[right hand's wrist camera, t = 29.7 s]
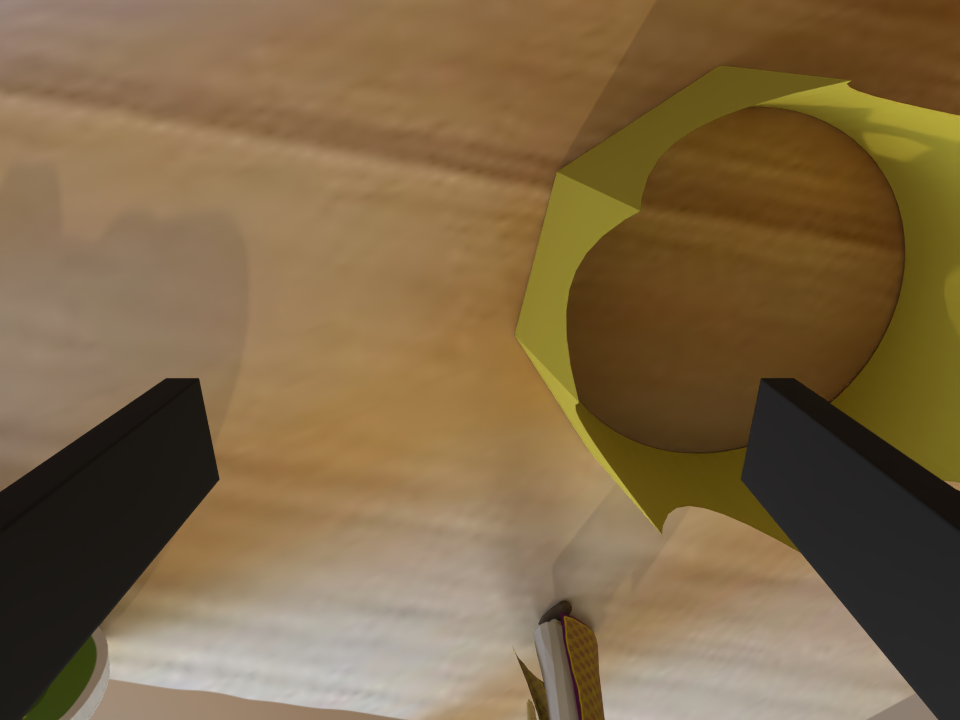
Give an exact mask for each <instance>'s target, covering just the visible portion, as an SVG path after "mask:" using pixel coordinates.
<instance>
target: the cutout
mask: <svg viewBox="0 0 960 720" xmlns="http://www.w3.org/2000/svg"><path fill="white" fill-rule="evenodd" d="M109 665H110V664H109V653H108V644H107V640H106V636H105V635H104V633H103V631H102V630H101V629H100V627H99V626H98V628H97V629H96V630H95V631H94V632H93V634H92V635H91V636H90V637H89V639H88V640H87V641H86V642H85V643H84V645H83V646H82V647H81V648H80V649H79V651H78V652H77V653H76V654H75V656H74V657H73V658H72V659H71V660H70V662H69V663H68V664H67V665H66V666H65V668H64V669H63V670H62V671H61V673H60V674H59V675H58V676H57V677H56V679H55V680H54V681H53V682H52V683H51V685H50V686H49V687H48V688H47V690H46V691H45V692H44V693H43V694H42V696H41V697H40V698H39V699H38V701H37V702H36V703H35V704H34V705H33V707H32V708H31V709H30V710H29V711H28V713H27V714H26V715H25V716H24V718H23V719H22V720H90V718H91V717H92V715H93V714H94V712H95V710H96V709H97V707H98V705H99V703H100V701H101V700H102V698H103V696H104V693H105V690H106V688H107V684H108V680H109V674H110V669H109Z"/></svg>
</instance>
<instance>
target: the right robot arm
mask: <svg viewBox="0 0 960 720" xmlns="http://www.w3.org/2000/svg"><path fill="white" fill-rule="evenodd" d="M218 481H219V475H218V470H217V465H216V460H215V455H214V450H213V445H212V440H211V435H210V430H209V425H208V420H207V416H206V411H205V406H204V401H203V396H202V391H201V386H200V381H199V378H166V379H164V380H163V381H161V382H160V383H159V384H157V385H156V386H154V387H153V388H151V389H150V390H148V391H147V392H145V393H144V394H143V395H141V396H140V397H138V398H137V399H135V400H134V401H132V402H131V403H129V404H128V405H126V406H125V407H124V408H122V409H121V410H119V411H118V412H116V413H115V414H113V415H112V416H110V417H109V418H108V419H106V420H105V421H103V422H102V423H100V424H99V425H97V426H96V427H94V428H93V429H92V430H90V431H89V432H87V433H86V434H84V435H83V436H81V437H80V438H78V439H77V440H75V441H74V442H73V443H71V444H70V445H68V446H67V447H65V448H64V449H62V450H61V451H59V452H58V453H57V454H55V455H54V456H52V457H51V458H49V459H48V460H46V461H45V462H43V463H42V464H40V465H39V466H38V467H36V468H35V469H33V470H32V471H30V472H29V473H27V474H26V475H24V476H23V477H22V478H20V479H19V480H17V481H16V482H14V483H13V484H11V485H10V486H8V487H7V488H5V489H4V490H3V491H1V492H0V720H22V719H23V718H24V716H25V715H26V714H27V713H28V711H29V710H30V709H31V708H32V707H33V705H34V704H35V703H36V702H37V701H38V699H39V698H40V697H41V696H42V694H43V693H44V692H45V691H46V690H47V688H48V687H49V686H50V685H51V683H52V682H53V681H54V680H55V679H56V677H57V676H58V675H59V674H60V673H61V671H62V670H63V669H64V668H65V666H66V665H67V664H68V663H69V662H70V660H71V659H72V658H73V657H74V656H75V654H76V653H77V652H78V651H79V649H80V648H81V647H82V646H83V645H84V643H85V642H86V641H87V640H88V639H89V637H90V636H91V635H92V634H93V632H94V631H95V630H96V629H97V628H98V626H99V625H100V624H101V623H102V622H103V620H104V619H105V618H106V617H107V615H108V614H109V613H110V612H111V611H112V609H113V608H114V607H115V606H116V605H117V603H118V602H119V601H120V600H121V598H122V597H123V596H124V595H125V594H126V592H127V591H128V590H129V589H130V588H131V586H132V585H133V584H134V583H135V581H136V580H137V579H138V578H139V577H140V575H141V574H142V573H143V572H144V571H145V569H146V568H147V567H148V566H149V564H150V563H151V562H152V561H153V560H154V558H155V557H156V556H157V555H158V554H159V552H160V551H161V550H162V549H163V547H164V546H165V545H166V544H167V543H168V541H169V540H170V539H171V538H172V537H173V535H174V534H175V533H176V532H177V530H178V529H179V528H180V527H181V526H182V524H183V523H184V522H185V521H186V520H187V518H188V517H189V516H190V515H191V513H192V512H193V511H194V510H195V509H196V507H197V506H198V505H199V504H200V503H201V501H202V500H203V499H204V498H205V496H206V495H207V494H208V493H209V492H210V490H211V489H212V488H213V487H214V485H215V484H216V483H217V482H218ZM741 481H742V482H743V483H744V484H745V486H746V487H747V488H748V489H749V490H750V492H751V493H752V494H753V495H754V496H755V498H756V499H757V500H758V501H759V503H760V504H761V505H762V506H763V507H764V509H765V510H766V511H767V512H768V513H769V515H770V516H771V517H772V518H773V520H774V521H775V522H776V523H777V524H778V526H779V527H780V528H781V529H782V530H783V532H784V533H785V534H786V535H787V537H788V538H789V539H790V540H791V541H792V543H793V544H794V545H795V546H796V547H797V549H798V550H799V551H800V552H801V554H802V555H803V556H804V557H805V558H806V560H807V561H808V562H809V563H810V564H811V566H812V567H813V568H814V569H815V571H816V572H817V573H818V574H819V575H820V577H821V578H822V579H823V580H824V581H825V583H826V584H827V585H828V586H829V588H830V589H831V590H832V591H833V592H834V594H835V595H836V596H837V597H838V598H839V600H840V601H841V602H842V603H843V605H844V606H845V607H846V608H847V609H848V611H849V612H850V613H851V614H852V615H853V617H854V618H855V619H856V620H857V622H858V623H859V624H860V625H861V626H862V628H863V629H864V630H865V631H866V632H867V634H868V635H869V636H870V637H871V639H872V640H873V641H874V642H875V643H876V645H877V646H878V647H879V648H880V649H881V651H882V652H883V653H884V654H885V656H886V657H887V658H888V659H889V660H890V662H891V663H892V664H893V665H894V666H895V668H896V669H897V670H898V671H899V673H900V674H901V675H902V676H903V677H904V679H905V680H906V681H907V682H908V684H909V685H910V686H911V687H912V688H913V690H914V691H915V692H916V693H917V694H918V696H919V697H920V698H921V699H922V701H923V702H924V703H925V704H926V705H927V707H928V708H929V709H930V710H931V711H932V713H933V714H934V715H935V716H936V718H937V719H938V720H960V491H959V490H956V489H955V488H953V487H952V486H950V485H949V484H947V483H946V482H944V481H943V480H941V479H940V478H938V477H937V476H936V475H934V474H933V473H931V472H930V471H928V470H927V469H925V468H924V467H922V466H921V465H920V464H918V463H917V462H915V461H914V460H912V459H911V458H909V457H908V456H906V455H905V454H903V453H902V452H901V451H899V450H898V449H896V448H895V447H893V446H892V445H890V444H889V443H887V442H886V441H885V440H883V439H882V438H880V437H879V436H877V435H876V434H874V433H873V432H871V431H870V430H868V429H867V428H866V427H864V426H863V425H861V424H860V423H858V422H857V421H855V420H854V419H852V418H851V417H850V416H848V415H847V414H845V413H844V412H842V411H841V410H839V409H838V408H836V407H835V406H834V405H832V404H831V403H829V402H828V401H826V400H825V399H823V398H822V397H820V396H819V395H817V394H816V393H815V392H813V391H812V390H810V389H809V388H807V387H806V386H804V385H803V384H801V383H800V382H799V381H797V380H796V379H794V378H761V381H760V386H759V391H758V396H757V401H756V406H755V411H754V416H753V420H752V425H751V430H750V435H749V440H748V445H747V450H746V455H745V460H744V465H743V470H742V475H741Z"/></svg>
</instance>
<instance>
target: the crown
mask: <svg viewBox="0 0 960 720" xmlns="http://www.w3.org/2000/svg"><path fill="white" fill-rule="evenodd" d="M850 81H851V80H845V79H837V78H828V77H819V76H810V75H801V74H793V73H784V72H775V71H766V70H758V69H749V68H740V67H731V66H722V65H719V66H718V67H716V68H715V69H713V70H712V71H710V72H709V73H707V74H706V75H704V76H702V77H701V78H699V79H698V80H696V81H695V82H693V83H692V84H690V85H689V86H687V87H686V88H684V89H683V90H681V91H680V92H678V93H676V94H675V95H673V96H672V97H670V98H669V99H667V100H666V101H664V102H663V103H661V104H660V105H658V106H657V107H655V108H654V109H652V110H650V111H649V112H647V113H646V114H644V115H643V116H641V117H640V118H638V119H637V120H635V121H634V122H632V123H631V124H629V125H628V126H626V127H624V128H623V129H621V130H620V131H618V132H617V133H615V134H614V135H612V136H611V137H609V138H608V139H606V140H605V141H603V142H602V143H600V144H598V145H597V146H595V147H594V148H592V149H591V150H589V151H588V152H586V153H585V154H583V155H582V156H580V157H579V158H577V159H575V160H574V161H572V162H571V163H569V164H568V165H566V166H565V167H563V168H562V169H560V170H559V171H557V173H556V177H555V180H554V184H553V188H552V192H551V196H550V200H549V204H548V208H547V211H546V215H545V219H544V223H543V227H542V231H541V235H540V239H539V242H538V246H537V250H536V254H535V258H534V262H533V266H532V269H531V273H530V277H529V281H528V285H527V289H526V293H525V297H524V300H523V304H522V308H521V312H520V316H519V320H518V324H517V328H516V331H515V336H516V338H517V339H518V341H519V342H520V344H521V346H522V347H523V349H524V350H525V352H526V353H527V355H528V356H529V358H530V360H531V361H532V363H533V364H534V366H535V367H536V369H537V371H538V372H539V374H540V375H541V377H542V378H543V380H544V381H545V383H546V385H547V386H548V388H549V389H550V391H551V392H552V394H553V395H554V397H555V399H556V400H557V402H558V403H559V405H560V406H561V408H562V409H563V411H564V413H565V414H566V416H567V417H568V419H569V420H570V422H571V423H572V425H573V427H574V428H575V430H576V431H577V433H578V434H579V436H580V437H581V439H582V441H583V442H584V444H585V445H586V447H587V448H588V450H589V451H590V453H591V454H592V455H593V456H594V457H595V458H596V459H597V461H598V462H599V463H600V464H601V465H602V466H603V467H604V469H605V470H606V471H607V472H608V473H609V474H610V476H611V477H612V478H613V479H614V480H615V481H616V482H617V484H618V485H619V486H620V487H621V488H622V489H623V490H624V492H625V493H626V494H627V495H628V496H629V497H630V499H631V500H632V501H633V502H634V503H635V504H636V505H637V507H638V508H639V509H640V510H641V511H642V512H643V514H644V515H645V516H646V517H647V518H648V519H649V520H650V522H651V523H652V524H653V525H654V526H655V527H656V528H657V530H658V531H659V532H660V533H661V534H662V528H663V524H664V522H665V520H666V517H667V515H668V514H669V513H670V512H672V511H673V510H674V509H676V508H678V507H684V506H694V507H701V508H706V509H709V510H712V511H715V512H718V513H721V514H724V515H727V516H729V517H731V518H734V519H736V520H738V521H741V522H743V523H745V524H747V525H750V526H752V527H753V528H755V529H757V530H759V531H761V532H763V533H765V534H767V535H769V536H771V537H773V538H775V539H777V540H779V541H781V542H782V543H784V544H786V545H788V546H790V547H791V548H793V549H795V550H797V551H798V552H800V551H799V550H798V549H797V547H796V546H795V545H794V544H793V543H792V541H791V540H790V539H789V538H788V537H787V535H786V534H785V533H784V532H783V530H782V529H781V528H780V527H779V526H778V524H777V523H776V522H775V521H774V520H773V518H772V517H771V516H770V515H769V513H768V512H767V511H766V510H765V509H764V507H763V506H762V505H761V504H760V503H759V501H758V500H757V499H756V498H755V496H754V495H753V494H752V493H751V492H750V490H749V489H748V488H747V487H746V486H745V484H744V483H743V482H742V481H741V475H742V470H743V465H744V460H745V455H746V450H747V447H744V448H741V449H736V450H730V451H725V452H716V453H699V454H694V453H678V452H671V451H665V450H661V449H656V448H652V447H649V446H646V445H643V444H640V443H637V442H635V441H633V440H630V439H628V438H626V437H624V436H622V435H620V434H618V433H617V432H615V431H613V430H612V429H610V428H609V427H607V426H606V425H604V424H603V423H602V422H601V421H599V420H598V419H597V418H596V417H594V416H593V415H592V414H591V413H590V412H589V411H588V410H587V409H586V408H585V407H584V406H583V404H582V403H581V402H580V401H579V400H578V396H577V392H576V387H575V383H574V379H573V374H572V370H571V365H570V358H569V350H568V343H567V330H566V310H567V303H568V295H569V289H570V286H571V284H572V281H573V278H574V275H575V272H576V270H577V268H578V266H579V265H580V263H581V261H582V260H583V258H584V256H585V255H586V253H587V252H588V251H589V250H590V249H591V248H592V247H593V246H594V245H595V244H596V242H597V241H598V240H599V239H600V238H601V237H602V236H603V235H605V234H606V233H607V232H609V231H610V230H611V229H613V228H614V227H615V226H617V225H618V224H620V223H621V222H622V221H624V220H625V219H627V218H629V217H631V216H632V215H634V214H636V213H638V212H640V211H641V200H642V195H643V192H644V189H645V185H646V182H647V179H648V176H649V174H650V173H651V171H652V169H653V168H654V166H655V164H656V163H657V161H658V159H659V158H660V157H661V156H662V155H663V154H664V153H665V152H666V151H667V150H668V149H669V148H670V147H671V146H672V145H673V144H674V143H676V142H677V141H678V140H680V139H681V138H683V137H684V136H686V135H687V134H689V133H690V132H691V131H693V130H695V129H697V128H699V127H701V126H703V125H705V124H707V123H709V122H711V121H713V120H715V119H717V118H719V117H722V116H725V115H728V114H730V113H733V112H736V111H738V110H741V109H744V108H746V107H750V106H762V107H776V108H782V109H788V110H793V111H797V112H800V113H804V114H807V115H811V116H813V117H815V118H818V119H820V120H823V121H825V122H827V123H829V124H831V125H832V126H834V127H836V128H838V129H840V130H841V131H843V132H844V133H845V134H847V135H848V136H849V137H851V138H852V139H854V140H855V141H856V142H857V143H858V144H859V145H860V146H861V147H862V148H863V149H865V150H866V151H867V153H868V154H869V155H870V156H871V157H872V158H873V160H874V161H875V162H876V163H877V165H878V166H879V168H880V169H881V171H882V172H883V174H884V175H885V177H886V179H887V181H888V182H889V184H890V186H891V188H892V190H893V193H894V195H895V198H896V201H897V203H898V206H899V210H900V214H901V218H902V222H903V229H904V236H905V267H904V275H903V282H902V287H901V291H900V295H899V299H898V303H897V306H896V309H895V312H894V315H893V318H892V320H891V322H890V324H889V327H888V329H887V331H886V333H885V335H884V337H883V339H882V341H881V343H880V344H879V346H878V348H877V350H876V351H875V353H874V354H873V356H872V357H871V359H870V360H869V362H868V363H867V364H866V366H865V367H864V368H863V370H862V371H861V372H860V374H859V375H858V376H857V377H856V378H855V379H854V380H853V382H852V383H851V384H850V385H849V386H848V387H847V388H846V389H845V390H844V391H843V392H842V393H841V394H840V395H839V396H838V397H837V398H836V399H834V400H833V401H832V402H831V404H832V405H834V406H835V407H836V408H838V409H839V410H841V411H842V412H844V413H845V414H847V415H848V416H850V417H851V418H852V419H854V420H855V421H857V422H858V423H860V424H861V425H863V426H864V427H866V428H867V429H868V430H870V431H871V432H873V433H874V434H876V435H877V436H879V437H880V438H882V439H883V440H885V441H886V442H887V443H889V444H890V445H892V446H893V447H895V448H896V449H898V450H899V451H901V452H902V453H903V454H905V455H906V456H908V457H909V458H911V459H912V460H914V461H915V462H917V463H918V464H920V465H921V466H922V467H924V468H925V469H927V470H928V471H930V472H931V473H933V474H934V475H936V476H937V477H938V478H940V479H941V480H943V481H952V482H960V116H959V115H954V114H949V113H944V112H940V111H935V110H930V109H925V108H921V107H917V106H912V105H908V104H903V103H899V102H895V101H891V100H887V99H883V98H879V97H875V96H872V95H869V94H865V93H862V92H859V91H857V90H855V89H852V88H850V87H849V86H848V85H847V83H848V82H850ZM800 553H801V552H800Z"/></svg>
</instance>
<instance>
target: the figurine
mask: <svg viewBox="0 0 960 720" xmlns="http://www.w3.org/2000/svg"><path fill="white" fill-rule="evenodd" d="M571 611H572V606H571V604H570V603H569V602H567V601H564V602H561V603H559V604H557V605H556V606H554V607H553V608H551V609H550V610H549V611H548V612H547V613H546V614H545V615H544V616H543V617H542V618H541V620H540V622H539V626H538V628H537V629H536V630H535V631H534V640H535V646H536V652H537V656H538V660H539V664H540V668H541V672H542V676H543V681H544V682H542V681H541V680H539V679H538V678H536V677H535V676H534V675H533V674H532V673H531V672H530V671H529V670H528V669H527V667H526V666H525V665H524V663H523V662H522V661H521V660H520V659H519V658H518V656H517V655H516V656H517V659H518V661H519V663H520V666H521V668H522V671H523V673H524V676H525V678H526V681H527V683H528V686H529V689H530V692H531V695H532V698H533V701H534V704H535V707H536V710H537V713H538V716H539V720H605V719H604V711H603V702H602V693H601V685H600V676H599V658H598V644H597V640H596V637H595V635H594V632H593V631H592V630H591V629H590V628H589V627H588V626H586V625H585V624H584V623H582V622H581V621H579V620H577V619H575V618H573V617H571V616H569V615H570V613H571ZM513 649H514V648H513ZM514 652H515V651H514ZM515 654H516V653H515ZM527 720H537V719H536V715H535V708H534V706H533V704H532V702H531V701H530V699H528V702H527Z"/></svg>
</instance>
